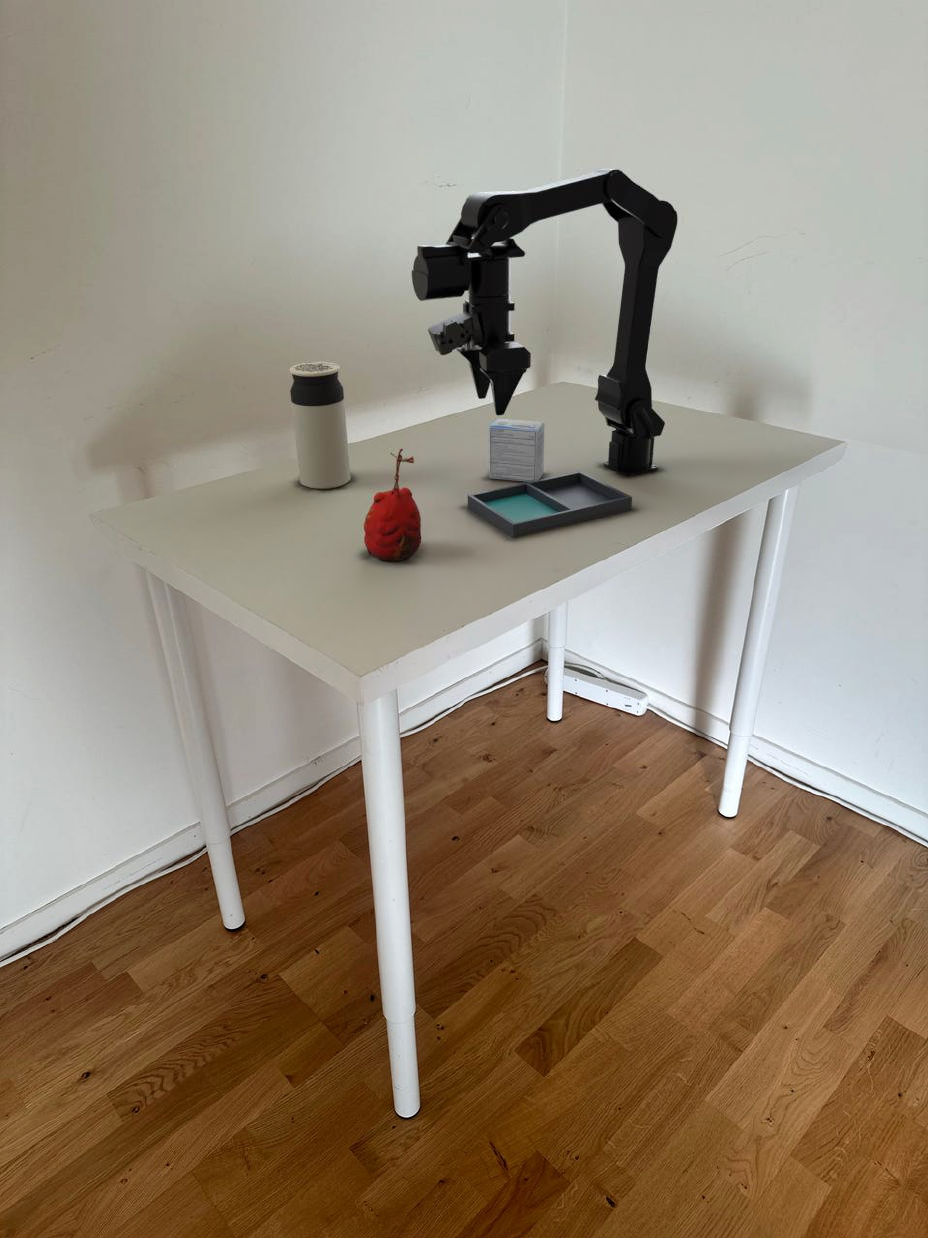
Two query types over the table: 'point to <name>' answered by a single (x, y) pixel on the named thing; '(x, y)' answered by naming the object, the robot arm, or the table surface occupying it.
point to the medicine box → (516, 450)
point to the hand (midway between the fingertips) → (490, 406)
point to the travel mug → (320, 425)
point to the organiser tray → (548, 503)
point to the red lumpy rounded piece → (393, 522)
